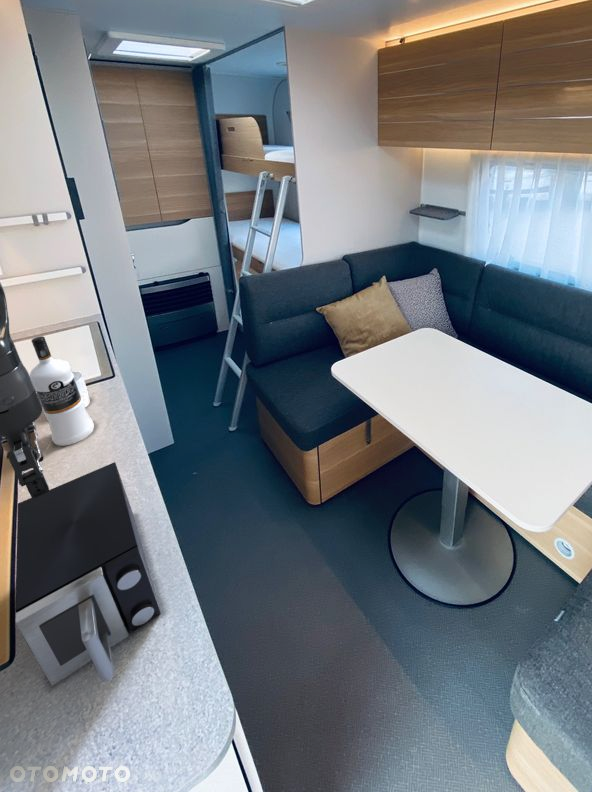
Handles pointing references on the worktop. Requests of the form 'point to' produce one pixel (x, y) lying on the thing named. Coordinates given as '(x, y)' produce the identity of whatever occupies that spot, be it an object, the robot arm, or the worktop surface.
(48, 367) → the vodka
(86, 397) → the white cup
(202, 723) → the worktop surface
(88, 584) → the microwave door
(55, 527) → the microwave
